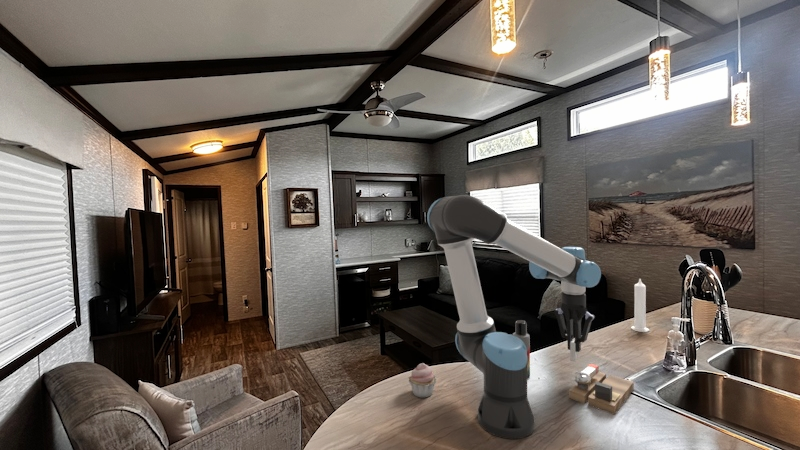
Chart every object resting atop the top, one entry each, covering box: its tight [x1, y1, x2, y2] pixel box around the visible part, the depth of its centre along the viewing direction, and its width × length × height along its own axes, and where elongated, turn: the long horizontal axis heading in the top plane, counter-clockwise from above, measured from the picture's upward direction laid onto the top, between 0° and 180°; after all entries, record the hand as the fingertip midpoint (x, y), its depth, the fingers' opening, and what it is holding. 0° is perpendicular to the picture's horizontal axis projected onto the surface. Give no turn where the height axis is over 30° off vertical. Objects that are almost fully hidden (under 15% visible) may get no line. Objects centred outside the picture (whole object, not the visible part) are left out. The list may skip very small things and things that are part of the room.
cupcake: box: [408, 362, 438, 399], centre depth 113 cm, size 9×9×10 cm
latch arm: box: [574, 363, 600, 385], centre depth 112 cm, size 13×4×2 cm, turn 133°
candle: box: [631, 278, 650, 333], centre depth 167 cm, size 7×7×25 cm
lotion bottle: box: [512, 319, 531, 380], centre depth 123 cm, size 6×6×20 cm
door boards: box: [568, 371, 635, 415], centre depth 110 cm, size 20×12×6 cm, turn 133°
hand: (574, 359), depth 119 cm, fingers closed
